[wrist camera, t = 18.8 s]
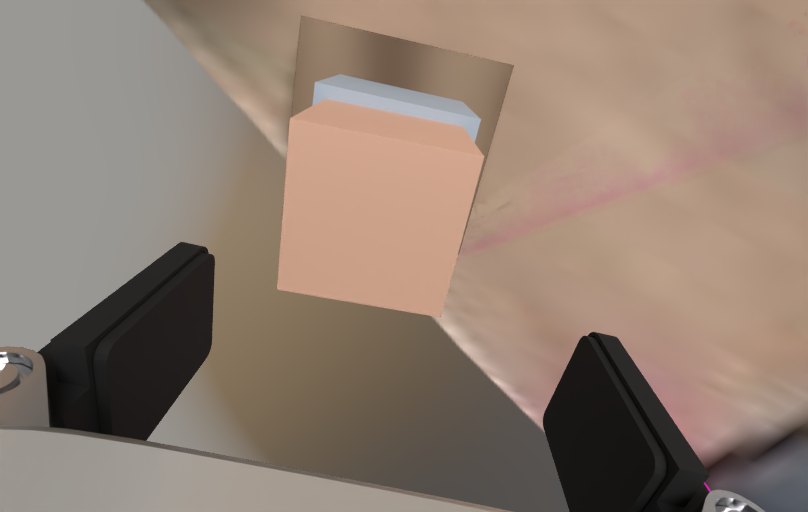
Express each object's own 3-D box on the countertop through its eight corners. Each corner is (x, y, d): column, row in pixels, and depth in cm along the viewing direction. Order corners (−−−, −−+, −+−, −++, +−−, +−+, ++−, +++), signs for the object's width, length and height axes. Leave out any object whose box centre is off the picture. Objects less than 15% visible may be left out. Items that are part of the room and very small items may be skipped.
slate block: (462, 101, 21) (481, 119, 16) (433, 216, 23) (440, 265, 18) (340, 74, 20) (315, 82, 15) (324, 193, 23) (297, 237, 18)
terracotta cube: (433, 249, 18) (440, 317, 13) (311, 227, 17) (276, 289, 13) (463, 126, 16) (484, 156, 11) (325, 98, 15) (290, 118, 11)
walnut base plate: (501, 63, 23) (513, 65, 20) (453, 234, 27) (458, 254, 24) (314, 20, 22) (301, 15, 19) (295, 202, 26) (281, 219, 24)
